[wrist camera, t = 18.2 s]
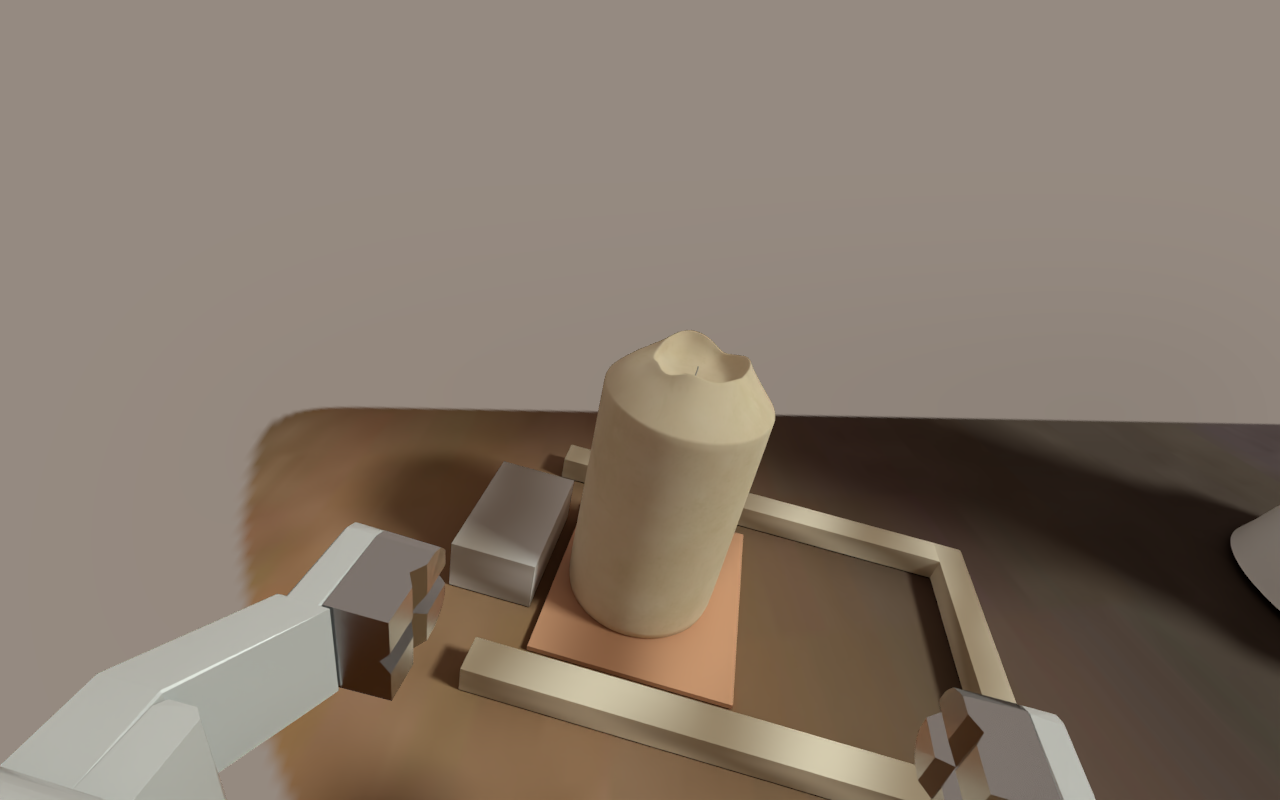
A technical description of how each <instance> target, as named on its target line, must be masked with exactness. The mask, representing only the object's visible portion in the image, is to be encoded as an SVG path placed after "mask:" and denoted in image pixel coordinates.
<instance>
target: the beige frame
mask: <svg viewBox="0 0 1280 800" xmlns="http://www.w3.org/2000/svg"><path fill="white" fill-rule="evenodd" d="M590 452H591V450H589V449H586V448H582V447H578V446H575V445H571V447H570V449H569V451H568V453H567V455H566V457H565V459H564V465H563V471H562V477H559V476H556V475H552V474H548V473H545V472H541V471H537V470H534V469H530V468H526V467H523V466H519V465H516V464H512V463H508V462H505V461H504V462H503V464H502V465H501V467H500V468H499V470H498V471H497V473H496V475H495V476H494V478H493V479H492V481H491V482H490V484H489V486H488V487H487V489H486V490H485V492H484V493H483V495H482V496H481V498H480V500H479V501H478V503H477V504H476V506H475V507H474V509H473V511H472V512H471V514H470V515H469V517H468V518H467V520H466V522H465V523H464V525H463V526H462V528H461V529H460V531H459V532H458V534H457V536H456V537H455V539H454V540H453V542H452V543H451V560H450V576H449V584H451V585H455V586H458V587H462V588H465V589H469V590H472V591H476V592H479V593H482V594H486V595H489V596H493V597H496V598H500V599H503V600H507V601H510V602H514V603H517V604H521V605H524V606H528V607H529V606H530V603H531V601H532V599H533V596H534V594H535V592H536V589H537V587H538V585H539V582H540V580H541V578H542V575H543V573H544V571H545V568H546V566H547V564H548V561H549V559H550V557H551V554H552V552H553V550H554V548H555V545H556V543H557V541H558V538H559V536H560V534H561V531H562V529H563V527H564V524H565V522H566V520H567V517H568V512H569V507H570V501H571V496H572V490H573V484H574V480H576V481H580V482H583V483H585V478H586V473H587V468H588V463H589V457H590ZM563 477H565V478H563ZM566 478H569V479H566ZM570 479H573V480H570ZM576 525H577V524H576ZM737 525H740V526H744V527H747V528H751V529H755V530H758V531H762V532H766V533H769V534H773V535H776V536H780V537H784V538H787V539H791V540H795V541H798V542H802V543H806V544H809V545H813V546H816V547H820V548H824V549H827V550H831V551H835V552H838V553H842V554H846V555H849V556H853V557H857V558H860V559H864V560H867V561H871V562H875V563H878V564H882V565H886V566H889V567H893V568H897V569H900V570H904V571H907V572H911V573H915V574H918V575H922V576H926V577H929V578H930V580H931V583H932V587H933V590H934V593H935V597H936V600H937V604H938V607H939V611H940V614H941V617H942V621H943V624H944V628H945V631H946V635H947V638H948V642H949V645H950V648H951V652H952V655H953V659H954V662H955V666H956V669H957V672H958V676H959V679H960V683H961V686H962V690H966V691H970V692H974V693H978V694H981V695H985V696H989V697H993V698H997V699H1001V700H1004V701H1008V702H1012V703H1016V701H1015V699H1014V696H1013V693H1012V690H1011V688H1010V685H1009V682H1008V679H1007V677H1006V674H1005V671H1004V669H1003V666H1002V663H1001V660H1000V658H999V655H998V652H997V649H996V647H995V644H994V641H993V638H992V636H991V633H990V630H989V628H988V625H987V622H986V619H985V617H984V614H983V611H982V608H981V606H980V603H979V600H978V597H977V595H976V592H975V589H974V587H973V584H972V581H971V578H970V576H969V573H968V570H967V567H966V565H965V562H964V559H963V556H962V554H961V551H960V550H958V549H954V548H950V547H947V546H943V545H939V544H935V543H932V542H928V541H924V540H921V539H917V538H913V537H910V536H906V535H902V534H899V533H895V532H891V531H888V530H884V529H880V528H877V527H873V526H869V525H866V524H862V523H858V522H854V521H851V520H847V519H843V518H840V517H836V516H832V515H829V514H825V513H821V512H818V511H814V510H810V509H807V508H803V507H799V506H796V505H792V504H788V503H784V502H781V501H777V500H773V499H770V498H766V497H762V496H759V495H755V494H751V493H749V494H748V497H747V499H746V502H745V505H744V508H743V510H742V513H741V516H740V519H739V521H738V524H737ZM575 530H576V527H575V529H574V532H573V534H572V537H571V539H570V542H569V544H568V547H567V549H566V552H565V554H564V556H563V559H562V561H561V564H560V566H559V569H558V571H557V574H556V576H555V579H554V581H553V584H552V586H551V589H550V591H549V593H548V596H547V598H546V601H545V603H544V606H543V608H542V611H541V613H540V616H539V618H538V621H537V623H536V625H535V628H534V630H533V633H532V635H531V638H530V640H529V643H528V645H527V650H529V651H533V652H536V653H540V654H543V655H547V656H550V657H553V658H557V659H560V660H564V661H567V662H571V663H574V664H577V665H581V666H584V667H588V668H591V669H595V670H598V671H601V672H605V673H608V674H612V675H615V676H619V677H622V678H625V679H629V680H632V681H636V682H639V683H643V684H646V685H649V686H653V687H656V688H660V689H663V690H667V691H670V692H673V693H677V694H680V695H684V696H687V697H691V698H694V699H697V700H701V701H704V702H708V703H711V704H715V705H718V706H721V707H725V708H728V709H732V706H733V694H734V678H735V662H736V645H737V629H738V612H739V596H740V579H741V563H742V547H743V535H742V534H739V533H735V532H734V535H733V538H732V541H731V543H730V546H729V549H728V552H727V554H726V557H725V560H724V563H723V565H722V568H721V571H720V573H719V576H718V579H717V582H716V584H715V587H714V590H713V592H712V595H711V598H710V600H709V603H708V605H707V607H706V609H705V610H704V612H703V614H702V615H701V616H700V618H699V619H698V620H697V621H696V622H695V623H694V624H693V625H692V626H691V627H689V628H688V629H686V630H685V631H683V632H680V633H678V634H676V635H672V636H669V637H664V638H654V639H646V638H637V637H632V636H627V635H624V634H621V633H618V632H616V631H613V630H611V629H609V628H607V627H605V626H604V625H602V624H600V623H599V622H597V621H596V620H595V619H593V618H592V617H591V616H590V615H589V614H588V613H587V612H586V611H585V610H584V609H583V608H582V606H581V605H580V604H579V602H578V601H577V599H576V597H575V595H574V593H573V591H572V587H571V584H570V575H569V567H570V558H571V552H572V546H573V541H574V536H575ZM459 689H460V690H463V691H467V692H470V693H473V694H477V695H480V696H483V697H487V698H490V699H493V700H497V701H500V702H504V703H507V704H510V705H514V706H517V707H520V708H524V709H527V710H530V711H534V712H537V713H541V714H544V715H547V716H551V717H554V718H557V719H561V720H564V721H568V722H571V723H574V724H578V725H581V726H584V727H588V728H591V729H594V730H598V731H601V732H605V733H608V734H611V735H615V736H618V737H621V738H625V739H628V740H631V741H635V742H638V743H642V744H645V745H648V746H652V747H655V748H658V749H662V750H665V751H669V752H672V753H675V754H679V755H682V756H685V757H689V758H692V759H695V760H699V761H702V762H706V763H709V764H712V765H716V766H719V767H722V768H726V769H729V770H733V771H736V772H739V773H743V774H746V775H749V776H753V777H756V778H759V779H763V780H766V781H770V782H773V783H776V784H780V785H783V786H786V787H790V788H793V789H796V790H800V791H803V792H807V793H810V794H813V795H817V796H820V797H823V798H827V799H830V800H930V799H931V798H930V797H929V795H928V794H927V792H926V791H925V790H924V788H923V787H922V785H921V784H920V783H919V781H918V779H917V773H916V767H915V765H914V764H910V763H907V762H903V761H900V760H897V759H893V758H890V757H886V756H883V755H879V754H876V753H873V752H869V751H866V750H862V749H859V748H855V747H852V746H849V745H845V744H842V743H838V742H835V741H831V740H828V739H825V738H821V737H818V736H814V735H811V734H807V733H804V732H801V731H797V730H794V729H790V728H787V727H783V726H780V725H777V724H773V723H770V722H766V721H763V720H759V719H756V718H753V717H749V716H746V715H742V714H739V713H735V712H732V711H729V710H725V709H722V708H718V707H715V706H711V705H708V704H705V703H701V702H698V701H694V700H691V699H687V698H684V697H681V696H677V695H674V694H670V693H667V692H663V691H660V690H657V689H653V688H650V687H646V686H643V685H639V684H636V683H633V682H629V681H626V680H622V679H619V678H615V677H612V676H609V675H605V674H602V673H598V672H595V671H591V670H588V669H585V668H581V667H578V666H574V665H571V664H567V663H564V662H561V661H557V660H554V659H550V658H547V657H543V656H540V655H537V654H533V653H530V652H526V651H523V650H519V649H516V648H513V647H509V646H506V645H502V644H499V643H495V642H492V641H489V640H485V639H482V638H478V637H476V638H475V640H474V642H473V644H472V646H471V648H470V650H469V652H468V654H467V656H466V658H465V660H464V662H463V664H462V666H461V668H460V678H459Z"/></svg>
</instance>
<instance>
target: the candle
mask: <svg viewBox="0 0 1280 800" xmlns="http://www.w3.org/2000/svg"><path fill="white" fill-rule="evenodd" d="M774 422H775V410H774V407H773V405H772V402H771V401H770V399H769V397H768V395H767V393H766V392H765V390H764V388H763V386H762V384H761V383H760V381H759V379H758V377H757V375H756V373H755V371H754V369H753V366H752V364H751V361H750V359H749V358H747V357H745V356H740V355H732V354H727V353H724V352H722V351H721V350H720V349H719V348H718V347H717V346H716V344H715V343H714V342H713V341H712V340H711V339H710V338H708V337H707V336H705V335H704V334H702V333H700V332H697V331H693V330H685V331H681V332H678V333H675V334H673V335H671V336H670V337H667V338H665V339H663V340H661V341H659V342H656V343H653V344H651V345H649V346H647V347H644V348H641V349H638V350H636V351H634V352H633V353H630V354H628V355H627V356H625V357H623V358H621V359H620V360H618V361H617V362H615V363H614V364H613V365H612V366H611V367H610V368H609V369H608V371H607V373H606V376H605V380H604V385H603V390H602V395H601V400H600V405H599V410H598V416H597V421H596V426H595V431H594V436H593V442H592V447H591V452H590V457H589V463H588V468H587V473H586V478H585V483H584V489H583V494H582V499H581V504H580V509H579V515H578V520H577V525H576V530H575V536H574V541H573V546H572V552H571V558H570V567H569V575H570V584H571V587H572V591H573V593H574V595H575V597H576V599H577V601H578V602H579V604H580V605H581V606H582V608H583V609H584V610H585V611H586V612H587V613H588V614H589V615H590V616H591V617H592V618H593V619H595V620H596V621H597V622H599V623H600V624H602V625H604V626H605V627H607V628H609V629H611V630H613V631H616V632H618V633H621V634H624V635H627V636H632V637H637V638H646V639H654V638H664V637H669V636H672V635H676V634H678V633H680V632H683V631H685V630H686V629H688V628H689V627H691V626H692V625H693V624H694V623H695V622H696V621H697V620H698V619H699V618H700V616H701V615H702V614H703V612H704V610H705V609H706V607H707V605H708V603H709V600H710V598H711V595H712V592H713V590H714V587H715V584H716V582H717V579H718V576H719V573H720V571H721V568H722V565H723V563H724V560H725V557H726V554H727V552H728V549H729V546H730V543H731V541H732V538H733V535H734V532H735V530H736V527H737V524H738V521H739V519H740V516H741V513H742V510H743V508H744V505H745V502H746V499H747V497H748V494H749V491H750V488H751V486H752V483H753V480H754V477H755V475H756V472H757V469H758V466H759V464H760V461H761V458H762V456H763V453H764V450H765V447H766V445H767V442H768V439H769V436H770V433H771V431H772V428H773V425H774Z"/></svg>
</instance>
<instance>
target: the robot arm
mask: <svg viewBox="0 0 1280 800" xmlns="http://www.w3.org/2000/svg"><path fill="white" fill-rule="evenodd" d="M1231 548H1232V551H1233V554H1234V556H1235V558H1236V560H1237V562H1238V564H1239V565H1240V567H1241V568H1242V570H1243V571H1244V573H1245V574H1246V575H1247V577H1248V578H1249V579H1250V580H1251V582H1252V583H1253V584H1254V585H1255V586H1256V587H1257V589H1258V590H1259V591H1260V592H1261V593H1262V594H1263V595H1264V596H1265V597H1266V598H1267V599H1268V600H1269V601H1270V602H1271V603H1272V604H1273V605H1274V606H1275V607H1276V608H1277V609H1278V610H1279V611H1280V505H1278V506H1277V507H1275V508H1274V509H1272V510H1270V511H1269V512H1267V513H1265V514H1264V515H1262V516H1260V517H1258V518H1256V519H1254V520H1253V521H1251V522H1249V523H1247V524H1245V525H1243V526H1241V527H1239V528H1237V529H1236V530H1235V531H1234V532H1233V533H1232V536H1231ZM445 564H446V557H445V549H443V548H441V547H438V546H435V545H431V544H428V543H425V542H422V541H418V540H415V539H412V538H408V537H405V536H402V535H398V534H395V533H392V532H389V531H384V530H381V529H377V528H374V527H371V526H367V525H364V524H360V523H357V522H355V523H354V524H352V525H350V526H348V527H347V528H345V529H344V531H343V532H342V533H341V534H340V535H339V536H338V537H337V539H336V540H335V541H334V542H333V543H332V544H331V546H330V547H329V548H328V549H327V550H326V551H325V552H324V554H323V555H322V556H321V557H320V558H319V559H318V560H317V562H316V563H315V564H314V565H313V566H312V567H311V569H310V570H309V571H308V572H307V573H306V574H305V575H304V577H303V578H302V579H301V580H300V581H299V582H298V583H297V585H296V586H295V587H294V588H293V589H292V590H291V592H290V593H289V594H288V595H287V596H285V595H281V594H276V595H274V596H271V597H269V598H267V599H265V600H262V601H260V602H258V603H256V604H253V605H251V606H249V607H246V608H244V609H242V610H240V611H238V612H235V613H233V614H231V615H229V616H226V617H224V618H222V619H220V620H217V621H215V622H213V623H210V624H208V625H206V626H204V627H202V628H199V629H197V630H195V631H192V632H190V633H188V634H186V635H183V636H181V637H179V638H177V639H174V640H172V641H170V642H167V643H165V644H163V645H161V646H159V647H156V648H154V649H152V650H149V651H147V652H145V653H143V654H140V655H138V656H136V657H134V658H131V659H129V660H127V661H125V662H122V663H120V664H118V665H116V666H113V667H111V668H109V669H107V670H104V671H102V672H100V673H97V674H96V675H95V676H94V677H93V678H92V679H91V680H90V681H89V682H88V683H87V684H86V685H85V686H84V687H83V688H81V689H80V690H79V691H78V692H77V693H76V694H75V695H74V696H73V697H72V698H71V699H70V700H69V701H68V702H67V703H66V704H64V705H63V706H62V707H61V708H60V709H59V710H58V711H57V712H56V713H55V714H54V715H53V716H52V717H51V718H50V719H49V720H47V721H46V722H45V723H44V724H43V725H42V726H41V727H40V728H39V729H38V730H37V731H36V732H35V733H34V734H33V735H32V736H31V737H29V738H28V739H27V741H25V742H24V743H23V744H22V745H21V746H20V747H19V748H18V749H17V750H16V751H15V752H13V753H12V754H11V756H9V757H8V758H7V759H6V760H5V761H4V762H3V763H2V764H1V765H0V800H227V799H226V795H225V792H224V789H223V786H222V783H221V780H220V777H219V772H221V771H222V770H224V769H225V768H226V767H228V766H229V765H231V764H232V763H234V762H235V761H237V760H238V759H240V758H241V757H243V756H244V755H245V754H247V753H248V752H250V751H251V750H253V749H254V748H256V747H257V746H259V745H260V744H262V743H263V742H264V741H266V740H267V739H269V738H270V737H272V736H273V735H275V734H276V733H278V732H279V731H280V730H282V729H283V728H285V727H286V726H288V725H289V724H291V723H292V722H294V721H295V720H297V719H298V718H299V717H301V716H302V715H304V714H305V713H307V712H308V711H310V710H311V709H313V708H314V707H315V706H317V705H318V704H320V703H321V702H323V701H324V700H326V699H327V698H329V697H330V696H331V695H333V694H334V693H336V692H337V691H338V690H339V688H338V687H341V688H344V689H348V690H352V691H356V692H360V693H364V694H367V695H371V696H375V697H379V698H383V699H387V700H390V701H392V700H393V698H394V696H395V694H396V693H397V691H398V689H399V688H400V686H401V684H402V682H403V681H404V679H405V677H406V675H407V674H408V672H409V670H410V669H411V667H412V665H413V648H414V647H416V646H418V645H419V644H421V643H423V642H425V641H426V640H427V639H428V637H429V635H430V633H431V632H432V630H433V628H434V626H435V624H436V621H437V619H438V616H439V614H440V611H441V608H442V604H443V600H444V595H445V583H444V581H443V580H442V578H441V577H440V576H439V574H440V573H441V571H442V569H443V568H444V566H445ZM939 704H940V708H941V712H940V713H938V714H935V715H932V716H930V717H927V718H926V719H925V721H924V723H923V724H922V726H921V727H920V729H919V731H918V735H917V739H916V744H915V767H916V773H917V779H918V781H919V783H920V784H921V785H922V787H923V788H924V790H925V791H926V792H927V794H928V795H929V797H930V798H931V799H930V800H1096V799H1095V797H1094V794H1093V792H1092V790H1091V787H1090V785H1089V783H1088V780H1087V778H1086V775H1085V773H1084V771H1083V768H1082V766H1081V764H1080V761H1079V759H1078V756H1077V754H1076V752H1075V749H1074V747H1073V744H1072V742H1071V740H1070V737H1069V735H1068V733H1067V730H1066V728H1065V725H1064V724H1063V722H1062V721H1061V720H1060V719H1059V718H1058V716H1057V715H1055V714H1051V713H1047V712H1044V711H1040V710H1036V709H1033V708H1029V707H1025V706H1020V705H1017V704H1016V703H1012V702H1008V701H1004V700H1001V699H997V698H993V697H989V696H985V695H981V694H978V693H974V692H970V691H966V690H962V689H959V688H955V687H953V688H951V689H949V690H947V691H945V693H944V694H943V695H942V697H941V698H940V700H939Z"/></svg>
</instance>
